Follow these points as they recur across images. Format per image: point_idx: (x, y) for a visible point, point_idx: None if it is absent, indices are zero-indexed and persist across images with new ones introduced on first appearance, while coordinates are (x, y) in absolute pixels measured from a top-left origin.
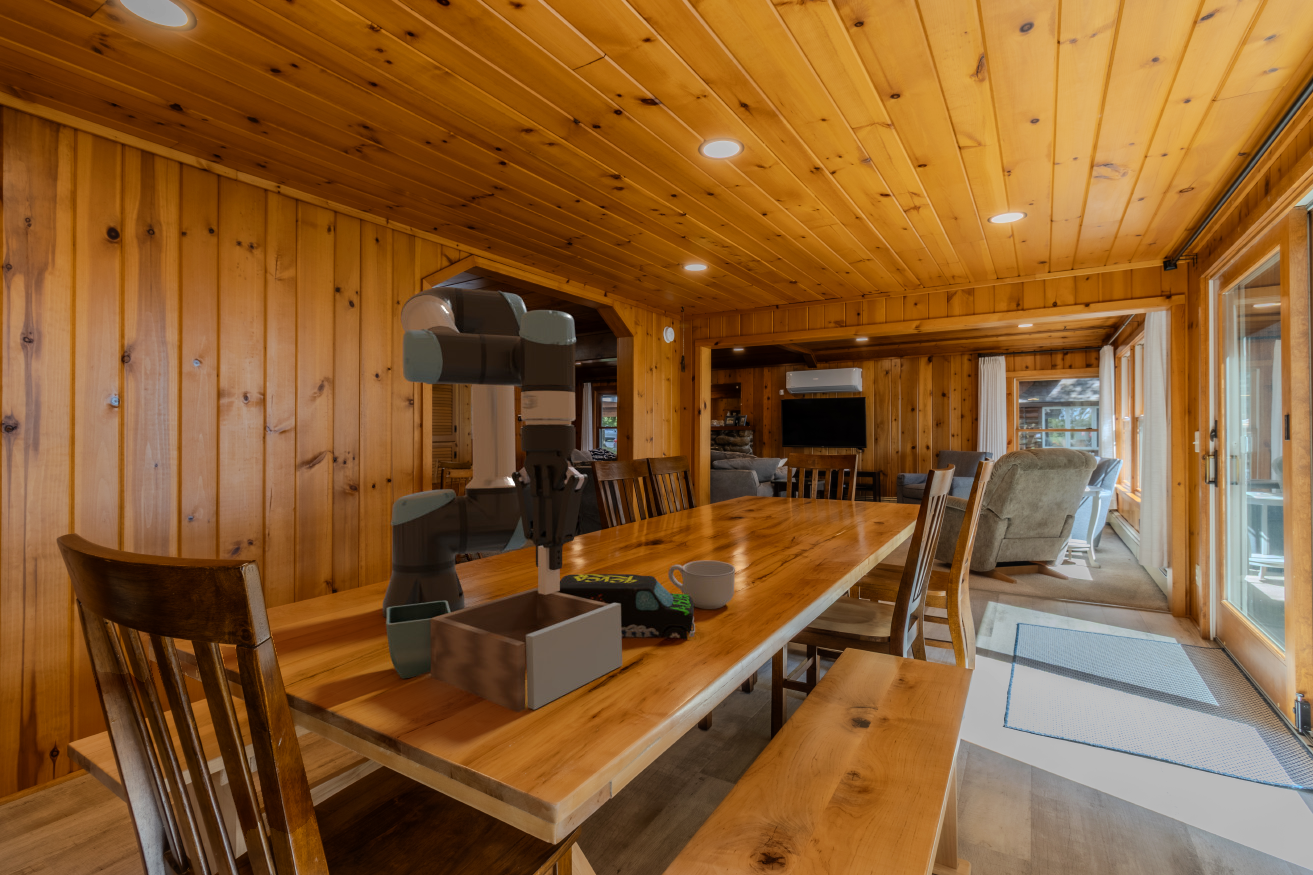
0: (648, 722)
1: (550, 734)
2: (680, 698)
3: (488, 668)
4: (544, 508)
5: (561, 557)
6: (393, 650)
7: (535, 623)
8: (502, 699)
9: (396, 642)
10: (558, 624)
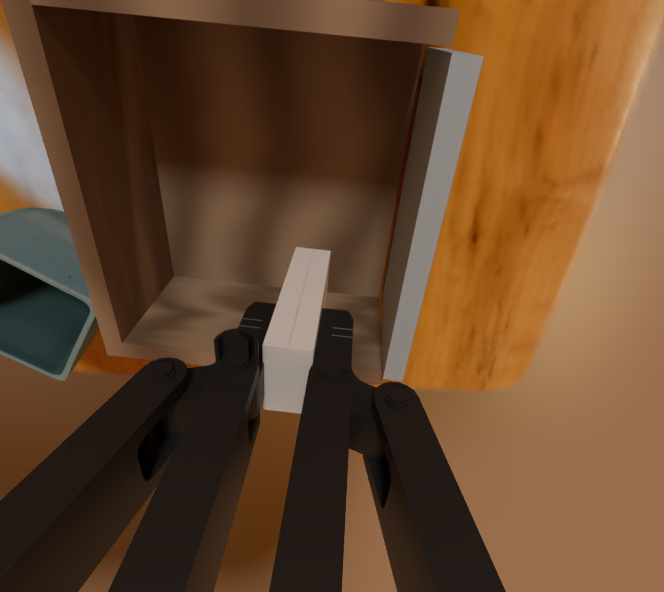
0: (574, 212)
1: (439, 305)
2: (619, 91)
3: None
4: (208, 566)
5: (351, 341)
6: (92, 339)
7: (105, 16)
8: None
9: (87, 346)
10: (405, 310)
